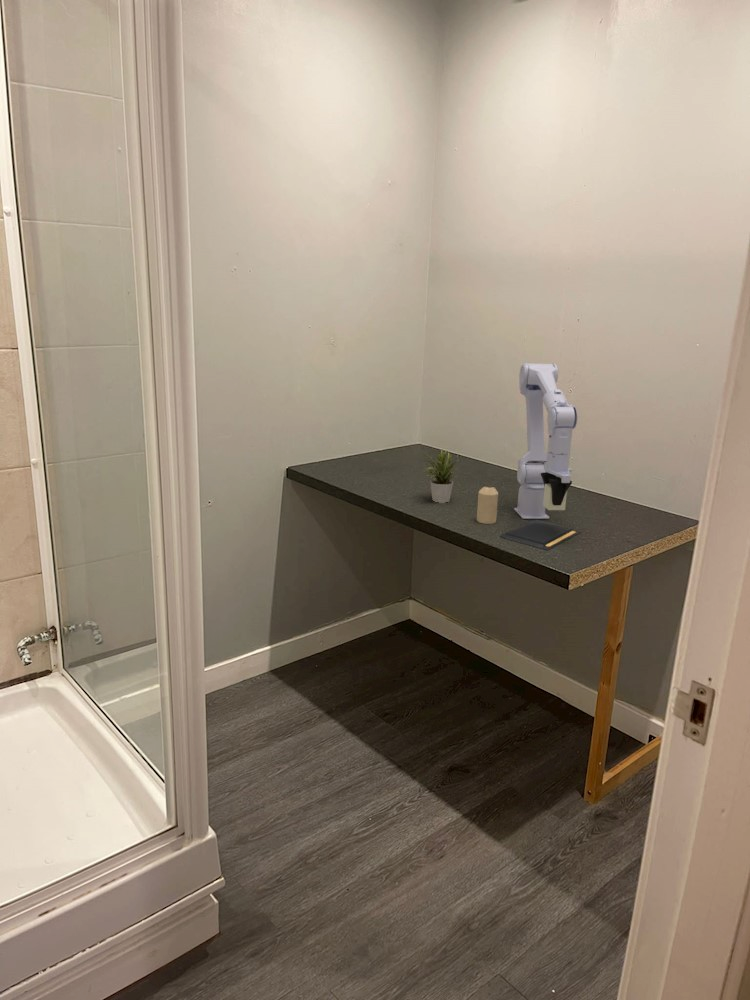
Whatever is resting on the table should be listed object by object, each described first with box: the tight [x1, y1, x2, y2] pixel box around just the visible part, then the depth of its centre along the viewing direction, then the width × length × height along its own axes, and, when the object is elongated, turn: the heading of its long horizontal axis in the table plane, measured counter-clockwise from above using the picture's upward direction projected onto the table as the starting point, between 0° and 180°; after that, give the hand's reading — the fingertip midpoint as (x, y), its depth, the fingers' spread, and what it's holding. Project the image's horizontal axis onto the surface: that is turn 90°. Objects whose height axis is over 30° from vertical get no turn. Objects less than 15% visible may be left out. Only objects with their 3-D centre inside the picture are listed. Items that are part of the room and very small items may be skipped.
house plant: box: [422, 449, 459, 504], centre depth 220 cm, size 14×14×16 cm
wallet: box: [499, 519, 582, 552], centre depth 193 cm, size 20×2×15 cm
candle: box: [476, 486, 499, 525], centre depth 202 cm, size 6×6×10 cm
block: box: [543, 484, 568, 511], centre depth 190 cm, size 4×4×6 cm
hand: (553, 502), depth 190 cm, fingers closed on block, 4 cm apart
